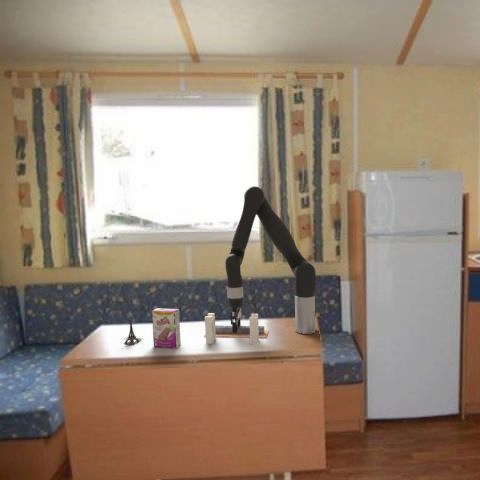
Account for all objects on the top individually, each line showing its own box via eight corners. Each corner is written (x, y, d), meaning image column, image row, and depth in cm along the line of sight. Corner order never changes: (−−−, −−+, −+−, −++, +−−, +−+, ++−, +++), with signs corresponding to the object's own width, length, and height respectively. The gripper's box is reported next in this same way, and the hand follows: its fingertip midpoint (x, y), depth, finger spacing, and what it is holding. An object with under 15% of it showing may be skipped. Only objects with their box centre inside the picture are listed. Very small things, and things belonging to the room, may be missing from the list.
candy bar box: (153, 347, 180) (151, 310, 178) (158, 343, 184) (156, 307, 183) (176, 348, 176) (174, 311, 175) (181, 344, 181) (179, 308, 180)
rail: (264, 332, 192) (264, 326, 192) (263, 334, 189) (263, 328, 189) (210, 331, 197) (210, 325, 197) (209, 333, 194) (209, 327, 194)
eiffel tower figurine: (144, 348, 180) (142, 319, 179) (120, 351, 178) (118, 321, 177) (145, 337, 194) (143, 310, 193) (123, 340, 193) (121, 312, 191)
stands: (259, 339, 184) (258, 313, 183) (257, 344, 178) (256, 317, 177) (209, 338, 188) (208, 313, 187) (205, 343, 182) (204, 317, 181)
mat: (268, 331, 195) (268, 330, 195) (266, 338, 186) (266, 337, 186) (209, 330, 201) (209, 329, 201) (204, 336, 191) (204, 335, 191)
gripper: (240, 299, 184) (241, 334, 185) (245, 292, 198) (246, 325, 199) (224, 299, 185) (225, 334, 187) (230, 292, 199) (231, 325, 201)
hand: (236, 329), depth 193 cm, fingers open, 8 cm apart
